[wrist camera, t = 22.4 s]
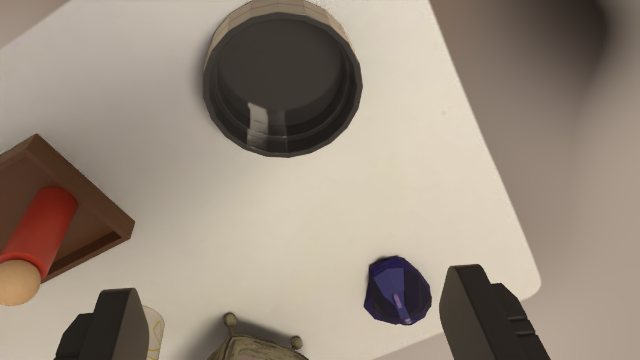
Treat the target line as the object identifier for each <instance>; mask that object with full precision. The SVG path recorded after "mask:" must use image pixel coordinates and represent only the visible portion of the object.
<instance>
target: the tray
mask: <svg viewBox="0 0 640 360" xmlns="http://www.w3.org/2000/svg"><path fill="white" fill-rule="evenodd" d="M47 187H56V188H60V189H63V190H65V191H67V192H69V193H70V194H72V195H73V196H74V198H75V199H76V201H77V210H76V212H75V215H74V217H73V219H72V221H71V223H70V225H69V228H68V230H67V232H66V234H65V236H64V238H63V241H62V243H61V245H60V247H59V249H58V252H57V254H56V256H55V258H54V260H53V262H52V265H51V267H50V269H49V271H48V273H47V275H46V277H45V278H44V279H43V280H42V281H41V283H40V284H42V283H44V282H46V281H48V280H50V279H52V278H54V277H56V276H58V275H60V274H62V273H64V272H66V271H68V270H70V269H72V268H74V267H76V266H78V265H79V264H81V263H83V262H85V261H87V260H89V259H91V258H93V257H95V256H97V255H99V254H101V253H103V252H105V251H107V250H109V249H111V248H113V247H115V246H117V245H119V244H121V243H123V242H125V241H126V240H128V239H130V238H131V234H132V231H133V228H134V224H135V221H134V220H132V219H131V218H130V217H129V216H128V215H127V214H126V213H125V212H124V211H122V210H121V209H120V208H119V207H118V206H117V205H116V204H115V203H114V202H112V201H111V200H110V199H109V198H108V197H107V196H106V195H105V194H104V193H102V192H101V191H100V190H99V189H98V188H97V187H96V186H95V185H94V184H92V183H91V182H90V181H89V180H88V179H87V178H86V177H85V176H84V175H82V174H81V173H80V172H79V171H78V170H77V169H76V168H75V167H73V166H72V165H71V164H70V163H69V162H68V161H67V160H66V159H65V158H63V157H62V156H61V155H60V154H59V153H58V152H57V151H56V150H55V149H53V148H52V147H51V146H50V145H49V144H48V143H47V142H46V141H45V140H43V139H42V138H41V137H40V136H39V135H38V134H35V135H33V136H31V137H30V138H28V139H26V140H25V141H23V142H21V143H20V144H18V145H16V146H15V147H13V148H11V149H10V150H8V151H6V152H5V153H3V154H1V155H0V254H1V252H2V250H3V249H4V247H5V245H6V244H7V242H8V240H9V238H10V237H11V235H12V233H13V232H14V230H15V228H16V227H17V225H18V223H19V221H20V220H21V218H22V216H23V215H24V213H25V211H26V210H27V208H28V206H29V204H30V203H31V201H32V199H33V198H34V196H35V194H36V193H37V192H38V191H39V190H41V189H43V188H47Z"/></svg>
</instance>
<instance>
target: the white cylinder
mask: <svg viewBox="0 0 640 360" xmlns="http://www.w3.org/2000/svg"><path fill="white" fill-rule="evenodd" d="M142 307H143V310H144V313H145V316H146V319H147V322H148V326H149V349H148V354H147V359H146V360H158V359H159V353H160V348H161V342H162V337H163V331H164V320H163V318H162V317H161V316H160V315H159V314H158V313H157V312H156V311H154V310H153V309H150V308H148V307H145V306H142Z"/></svg>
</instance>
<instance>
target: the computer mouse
mask: <svg viewBox="0 0 640 360" xmlns="http://www.w3.org/2000/svg"><path fill="white" fill-rule="evenodd" d="M431 302H432V296H431V293H430V286H429V284H428V283H427V282H426V280H425V279H424V277H423V276H422V275H421V273H420V272H419V271H418V270H417V269H416V268H415V267H413V266H412V265H411V264H410V263H409V262H408V261H406V260H405V259H404V258H400V257H396V258H392V259H385V260H382V261H381V262H379V263H377V264H375V265H372V266H370V268H369V284H368V288H367V293H366V298H365V302H364V308H365V309H366V310H367V311H368V312H369V313H370V314H371V315H372V317H373V318H374V319H376V320H380V321H384V322H387V323H391V324H395V325H396V324H402V325H412V324H414V323H416V322H417V321H419V320H421V319H423V318H424V317H425V316H426V313H427V311H428V309H429V308H430V307H431Z"/></svg>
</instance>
